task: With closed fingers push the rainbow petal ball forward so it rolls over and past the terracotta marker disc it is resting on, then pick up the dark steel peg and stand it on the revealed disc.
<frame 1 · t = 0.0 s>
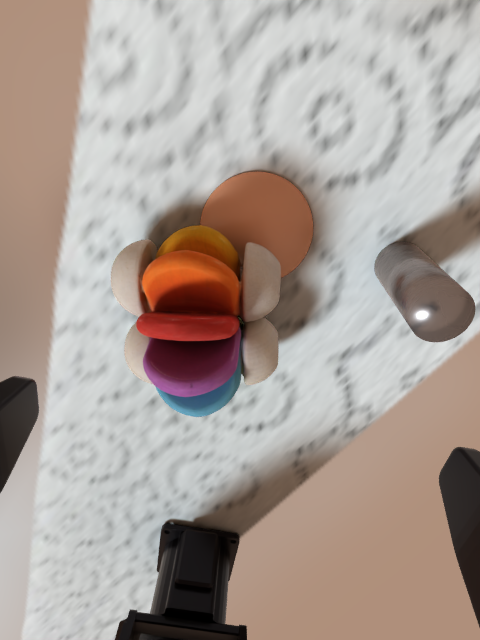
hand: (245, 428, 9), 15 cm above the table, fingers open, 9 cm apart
marker disc: (256, 230, 21), on the table
rainbow petal ball: (205, 298, 24), on the table, touching marker disc
steel peg: (398, 264, 22), on the table
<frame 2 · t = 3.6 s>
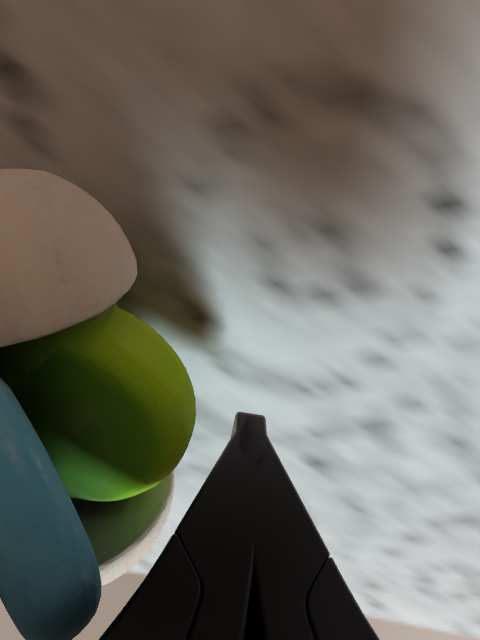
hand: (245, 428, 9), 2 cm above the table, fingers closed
rainbow petal ball: (9, 343, 10), on the table, touching gripper, marker disc
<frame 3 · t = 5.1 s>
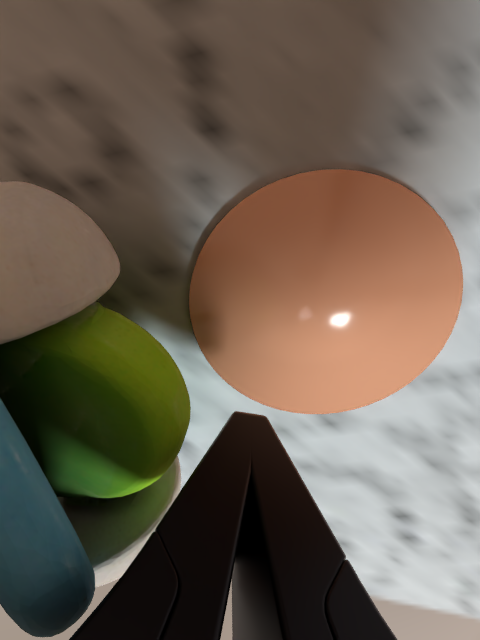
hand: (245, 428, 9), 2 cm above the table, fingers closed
marker disc: (321, 309, 9), on the table
rainbow petal ball: (18, 352, 10), on the table, touching gripper
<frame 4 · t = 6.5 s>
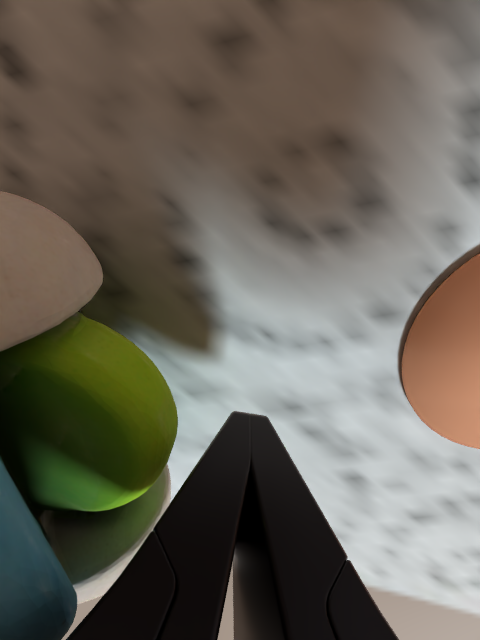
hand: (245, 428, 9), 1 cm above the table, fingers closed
rainbow petal ball: (5, 362, 10), on the table, touching gripper
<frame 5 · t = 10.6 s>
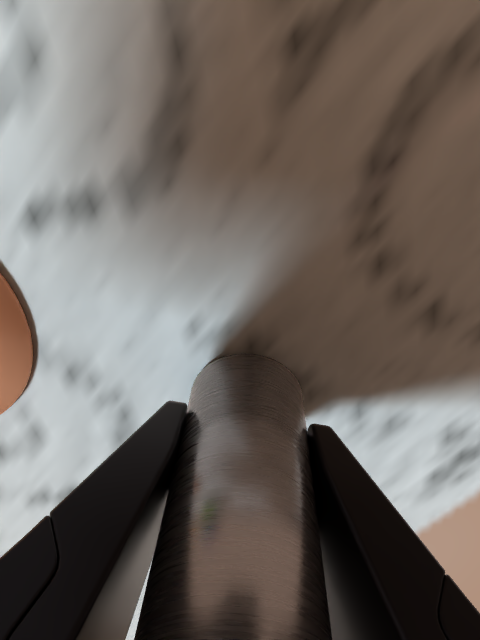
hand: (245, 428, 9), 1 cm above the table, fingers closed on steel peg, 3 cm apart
steel peg: (246, 398, 9), on the table, touching gripper
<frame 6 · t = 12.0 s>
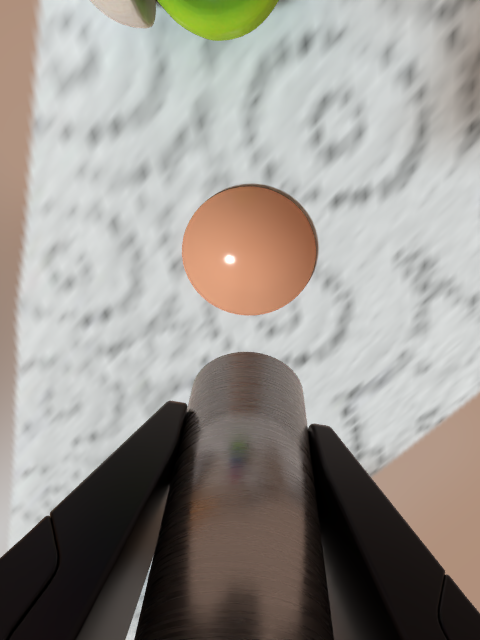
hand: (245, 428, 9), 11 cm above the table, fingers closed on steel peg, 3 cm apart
marker disc: (248, 255, 18), on the table
steel peg: (247, 397, 9), point 10 cm above the table, touching gripper
when the fingers open (2 cm above the table, at t = 13.7 s): steel peg drops 1 cm, resting on marker disc.
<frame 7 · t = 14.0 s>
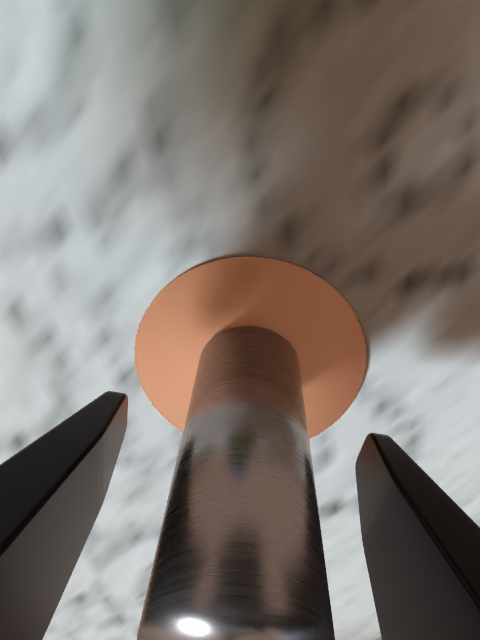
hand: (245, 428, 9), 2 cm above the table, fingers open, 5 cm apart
marker disc: (249, 365, 11), on the table
steel peg: (248, 368, 10), resting on marker disc
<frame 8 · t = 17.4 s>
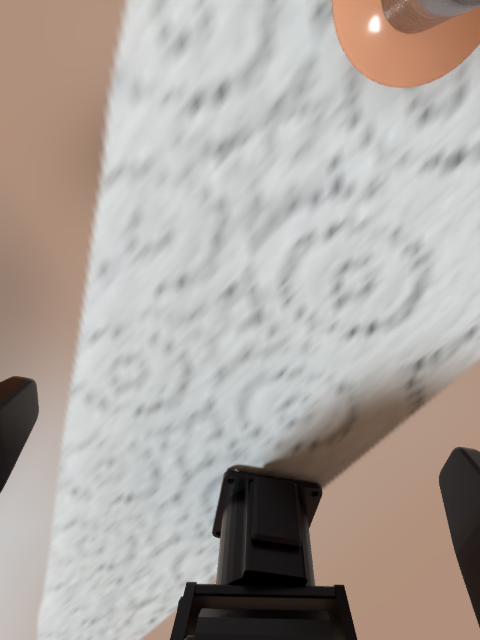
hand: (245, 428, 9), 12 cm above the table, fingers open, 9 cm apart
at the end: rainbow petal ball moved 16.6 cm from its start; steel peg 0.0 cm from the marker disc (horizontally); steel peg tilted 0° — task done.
